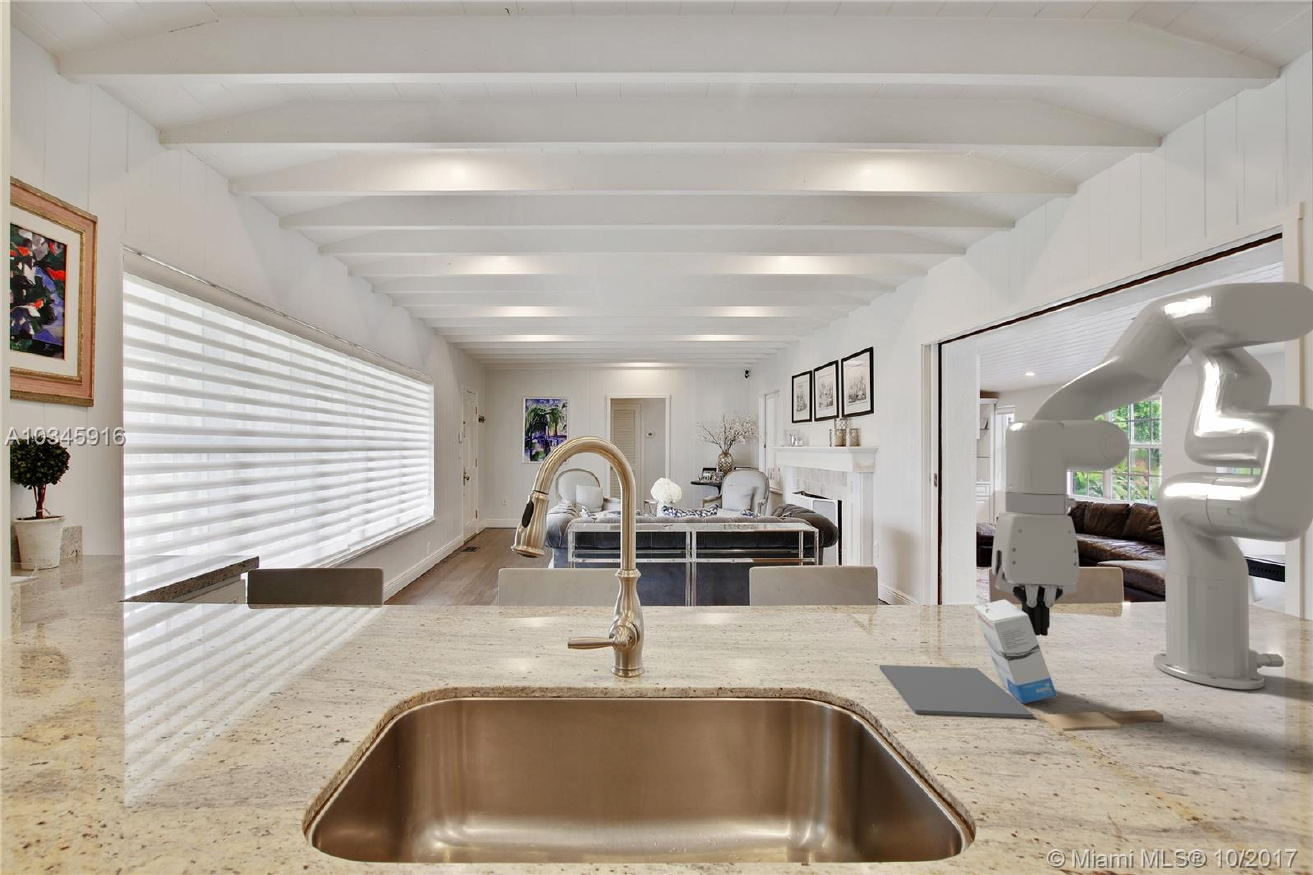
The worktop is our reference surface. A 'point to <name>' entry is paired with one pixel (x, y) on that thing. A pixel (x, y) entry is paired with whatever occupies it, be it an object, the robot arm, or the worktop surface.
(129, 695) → the worktop surface
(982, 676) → the mat
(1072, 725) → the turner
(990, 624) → the ink box
